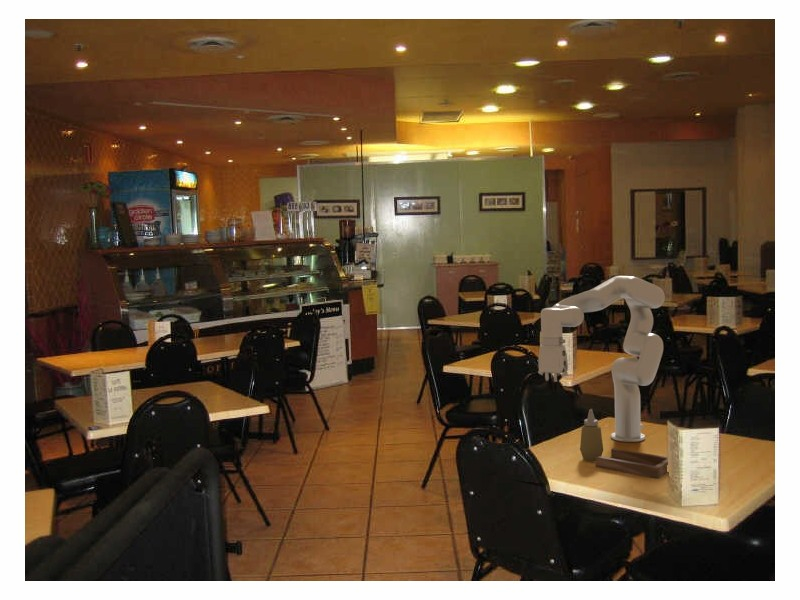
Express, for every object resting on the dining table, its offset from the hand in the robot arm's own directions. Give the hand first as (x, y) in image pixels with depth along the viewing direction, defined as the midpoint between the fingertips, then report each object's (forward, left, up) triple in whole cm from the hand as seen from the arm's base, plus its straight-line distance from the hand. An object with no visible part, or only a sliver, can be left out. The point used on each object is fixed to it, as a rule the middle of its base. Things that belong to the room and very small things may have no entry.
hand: (553, 391), depth 275 cm
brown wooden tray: (0, +31, -23) cm, 39 cm away
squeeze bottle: (0, +15, -23) cm, 28 cm away
